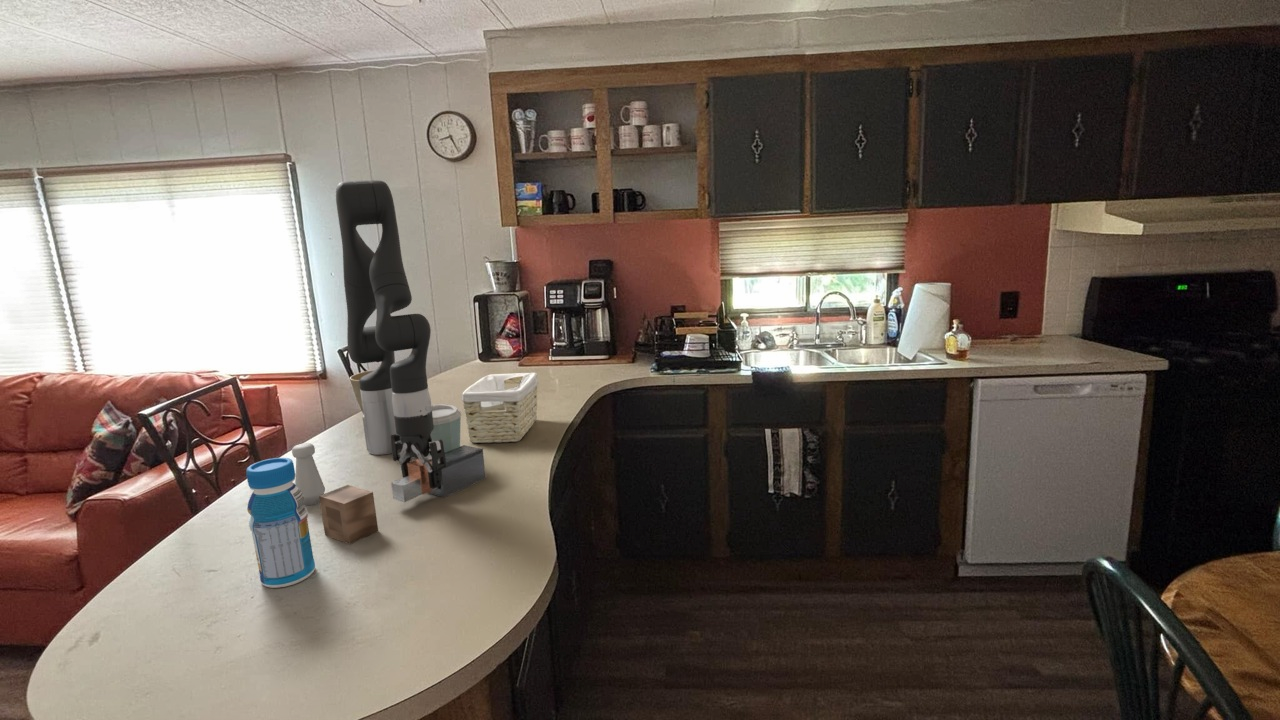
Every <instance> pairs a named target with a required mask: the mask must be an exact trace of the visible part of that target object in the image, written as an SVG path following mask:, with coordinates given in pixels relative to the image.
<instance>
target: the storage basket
mask: <svg viewBox="0 0 1280 720" xmlns="http://www.w3.org/2000/svg"><path fill="white" fill-rule="evenodd" d="M506 384H519V385H517V386H514V387H511V388H508V389H506ZM538 385H539V381H538V373H537V372H520V373H519V372H516V373H493V374H491V373H490V374H488V375H485V376H483V377H481V378H480V379H479V380H477V381H476V382H474V383H473V384H471V385H470V386H468V387H467V388H466V389H465V390H464V391H463V392H462V397H461V399H462V403H463V404H462V405H463V409H464V413H465V417H466V418H465V422H466V423H467V430H468V437H469V439H468V440H469V441H470V443H474V444H475V443H480V444H483V443H484V444H485V443H487V444H488V443H489V444H491V443H510V442H512V443H517V442H519V441H521V440H522V438H523V437H524V436H525V435H526V433H528V432H529V430H530V429H531V427H533V425H534V423H536V421H537V418H538V415H537V411H538Z"/></svg>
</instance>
